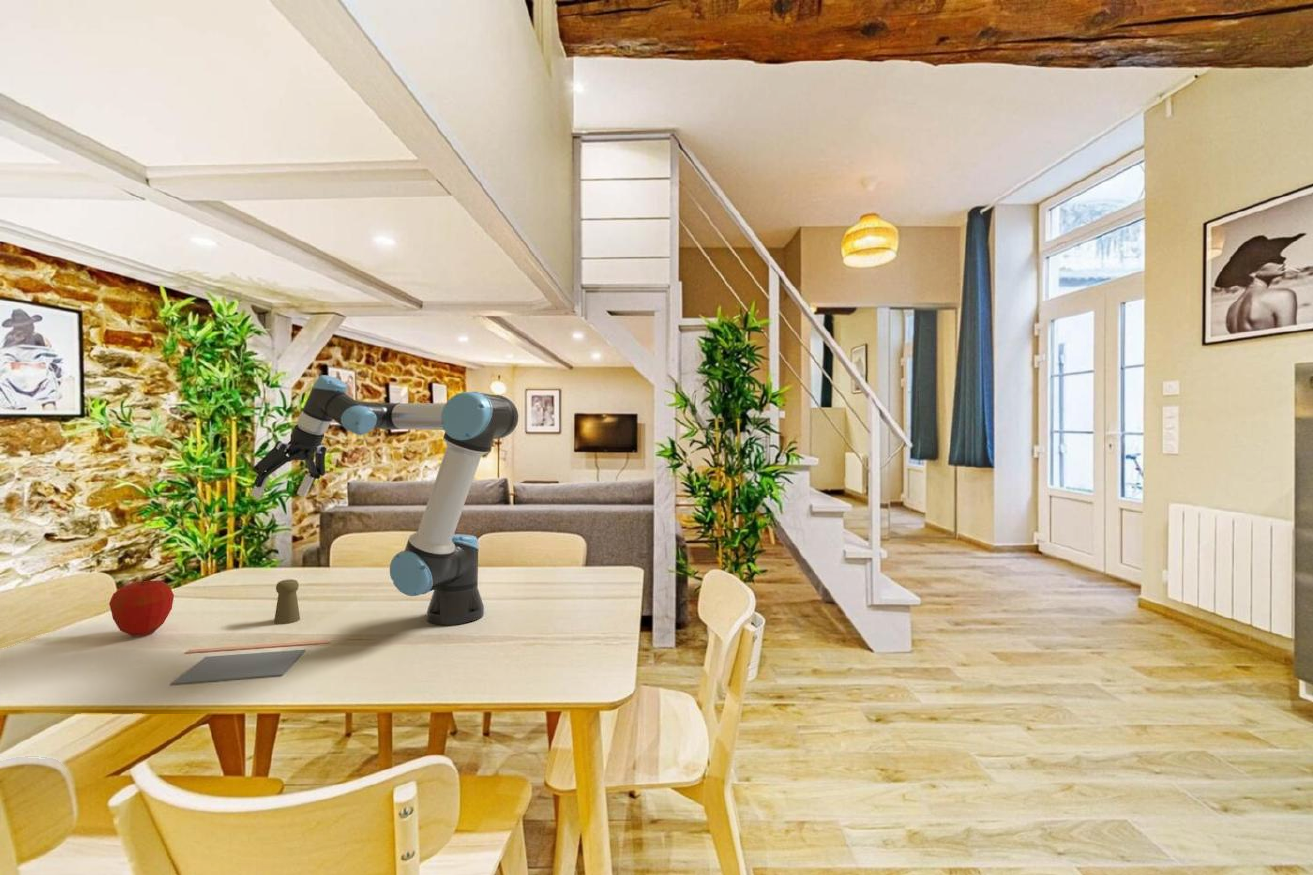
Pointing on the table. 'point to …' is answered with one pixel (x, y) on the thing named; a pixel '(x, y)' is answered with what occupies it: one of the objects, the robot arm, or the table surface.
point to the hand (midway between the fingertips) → (278, 496)
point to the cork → (287, 602)
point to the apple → (141, 607)
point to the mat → (239, 667)
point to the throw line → (258, 646)
